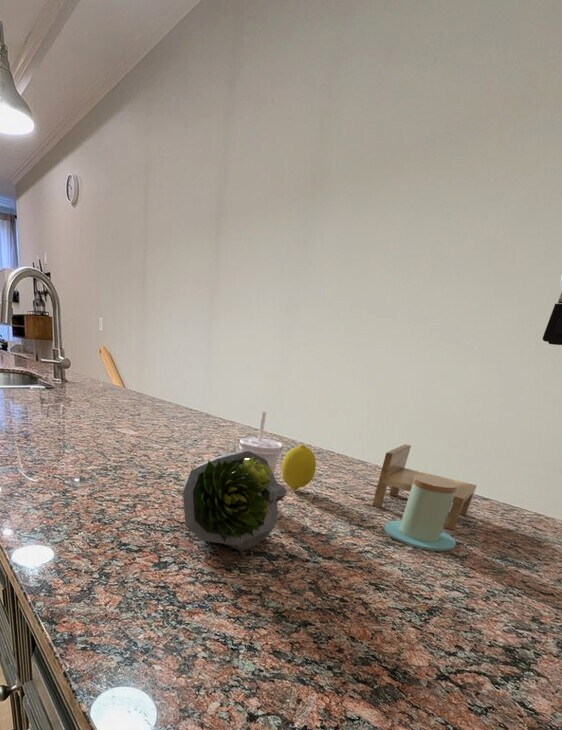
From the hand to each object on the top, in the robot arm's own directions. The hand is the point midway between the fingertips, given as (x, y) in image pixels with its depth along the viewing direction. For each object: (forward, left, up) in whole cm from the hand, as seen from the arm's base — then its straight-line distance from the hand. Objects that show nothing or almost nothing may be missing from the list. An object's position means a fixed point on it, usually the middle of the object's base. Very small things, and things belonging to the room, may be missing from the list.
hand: (560, 343), depth 55 cm
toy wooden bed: (+10, -3, -26) cm, 28 cm away
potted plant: (+23, +32, -26) cm, 47 cm away
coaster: (+7, +9, -26) cm, 29 cm away
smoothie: (+29, +18, -26) cm, 43 cm away
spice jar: (+7, +9, -26) cm, 28 cm away
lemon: (+28, +6, -26) cm, 39 cm away
